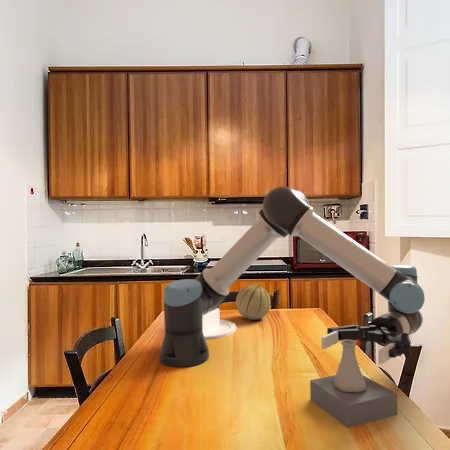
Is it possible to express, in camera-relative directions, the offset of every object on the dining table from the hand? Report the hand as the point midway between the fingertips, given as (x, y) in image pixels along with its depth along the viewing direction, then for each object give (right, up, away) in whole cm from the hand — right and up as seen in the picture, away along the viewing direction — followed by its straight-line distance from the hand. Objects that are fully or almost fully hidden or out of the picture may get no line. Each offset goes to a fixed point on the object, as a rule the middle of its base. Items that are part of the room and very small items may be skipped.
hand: (349, 349), depth 83 cm
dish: (-36, -14, +62) cm, 73 cm away
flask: (0, -8, 0) cm, 8 cm away
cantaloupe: (-16, -13, +76) cm, 78 cm away
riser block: (+1, -13, 0) cm, 13 cm away
